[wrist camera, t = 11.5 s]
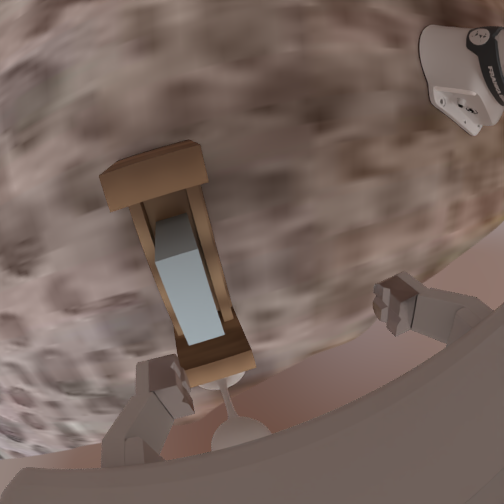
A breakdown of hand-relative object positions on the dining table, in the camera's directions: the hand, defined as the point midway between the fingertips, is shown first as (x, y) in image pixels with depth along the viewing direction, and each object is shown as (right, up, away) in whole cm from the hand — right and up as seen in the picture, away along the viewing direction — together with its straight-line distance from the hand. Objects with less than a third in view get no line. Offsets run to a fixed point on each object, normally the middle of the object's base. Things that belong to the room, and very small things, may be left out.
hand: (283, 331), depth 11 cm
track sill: (-9, +3, +24) cm, 26 cm away
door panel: (-9, +3, +22) cm, 24 cm away
